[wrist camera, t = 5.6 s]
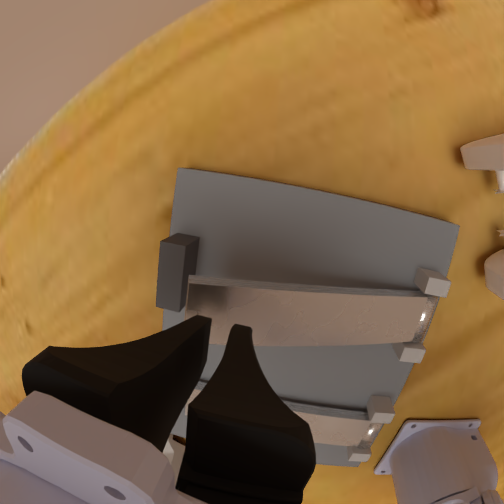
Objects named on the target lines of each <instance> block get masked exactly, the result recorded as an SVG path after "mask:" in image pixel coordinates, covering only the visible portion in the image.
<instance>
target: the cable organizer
mask: <svg viewBox="0 0 504 504" xmlns="http://www.w3.org/2000/svg"><path fill="white" fill-rule="evenodd" d="M460 151H461V154H462V158H463V162H464V165H465V168H466V169H469V170H495V173H496V177H497V182H498V187H499V189H497V190H494V191H497V192H496V193H504V134H500V135H495V136H491V137H487V138H483V139H479V140H476V141H473V142H470V143H467V144H465V145H463V146H462V147H461V148H460ZM496 193H495V194H496ZM496 231H498V232H500V233H501V234H500V235H499V236H504V230H496ZM484 270H485V282H486V287H487V288H488V289H489V290H490V291H492V292H493V293H495V294H496V295H497V296H499V297H500V298H501V299H503V300H504V249H502V250H500V251H498V252H496V253H494V254H492V255H491V256H490V257H488V258H487V259H486V261H485V263H484Z"/></svg>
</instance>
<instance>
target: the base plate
mask: <svg viewBox="0 0 504 504" xmlns="http://www.w3.org/2000/svg"><path fill="white" fill-rule="evenodd" d="M459 227H460V226H459V225H456V224H454V223H451V222H448V221H445V220H441V219H438V218H434V217H431V216H427V215H423V214H419V213H416V212H412V211H408V210H404V209H400V208H396V207H392V206H388V205H384V204H380V203H376V202H372V201H367V200H363V199H359V198H354V197H350V196H345V195H340V194H336V193H331V192H326V191H322V190H317V189H312V188H307V187H302V186H296V185H291V184H286V183H280V182H275V181H269V180H263V179H258V178H252V177H246V176H239V175H233V174H227V173H220V172H213V171H206V170H199V169H192V168H178V171H177V178H176V186H175V193H174V201H173V209H172V218H171V227H170V236H169V237H168V238H166V239H164V240H162V241H160V253H159V265H158V279H157V295H156V307H159V308H163V309H164V311H163V330H166V329H168V328H170V327H172V326H175V325H177V324H179V323H181V322H183V321H184V319H185V307H186V297H187V286H188V277H189V275H196V276H207V277H218V278H229V279H241V280H253V281H266V282H279V283H292V284H306V285H320V286H335V287H351V288H368V289H387V290H406V291H419V290H421V291H422V292H423V293H424V294H429V295H435V296H438V300H437V303H436V305H435V308H434V311H433V314H432V317H431V319H430V322H429V325H428V327H427V330H426V332H425V335H424V338H423V340H422V342H419V343H416V342H399V343H385V344H367V345H344V346H254V349H255V353H256V356H257V359H258V362H259V364H260V367H261V369H262V371H263V373H264V375H265V377H266V379H267V381H268V383H269V384H270V386H271V387H272V389H273V390H274V392H275V393H276V394H277V395H278V397H279V398H280V399H281V400H284V401H289V402H295V403H301V404H307V405H314V406H320V407H327V408H335V409H343V410H351V411H361V412H368V415H369V420H370V422H371V423H383V424H382V426H383V425H384V423H387V424H390V423H391V421H392V419H393V417H394V415H395V411H394V408H393V406H394V404H395V402H396V400H397V398H398V396H399V394H400V392H401V390H402V388H403V386H404V384H405V382H406V380H407V378H408V376H409V373H410V371H411V369H412V367H413V365H414V363H421V361H422V359H423V356H424V354H425V352H426V349H425V348H424V346H423V344H422V343H423V341H424V339H425V336H426V333H427V331H428V328H429V326H430V323H431V320H432V318H433V315H434V312H435V309H436V307H437V304H438V301H439V298H440V297H445V298H446V297H447V294H448V291H449V288H450V284H451V281H450V280H448V279H447V278H446V276H447V273H448V269H449V266H450V262H451V259H452V255H453V251H454V248H455V244H456V240H457V236H458V232H459ZM225 347H226V345H219V344H209V347H208V355H207V362H206V365H205V367H204V370H203V372H202V375H201V377H200V380H199V381H200V382H204V383H208V381H209V380H210V378H211V377H212V375H213V374H214V372H215V370H216V369H217V367H218V365H219V363H220V361H221V360H222V357H223V354H224V351H225ZM185 406H186V405H185ZM185 406H184V408H183V410H182V412H181V413H180V415H179V417H178V418H177V420H176V422H175V424H174V426H173V429H172V431H171V434H174V435H177V436H180V437H184V438H186V428H187V415H185ZM382 426H381V428H382ZM381 428H380V429H379V431H378V433H379V432H380V430H381ZM378 433H377V435H378ZM377 435H376V436H375V438H374V440H375V439H376V437H377ZM374 440H373V442H374ZM373 442H372V443H371V445H372V444H373ZM314 445H315V451H316V464H323V465H334V466H349V467H358V466H359V464H360V463H361V462H367V461H368V459H369V457H370V456H371V449H370V447H371V445H370V447H369V448H367V449H360V448H358V447H352V446H341V445H331V444H322V443H314Z"/></svg>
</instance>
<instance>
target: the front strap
mask: <svg viewBox="0 0 504 504" xmlns="http://www.w3.org/2000/svg"><path fill="white" fill-rule="evenodd" d="M437 300H438V296H435V295H429V294H424V293H423V292H422V291H421V290H419V291H406V290H387V289H368V288H351V287H335V286H320V285H306V284H292V283H279V282H266V281H253V280H241V279H229V278H218V277H207V276H196V275H189V277H188V286H187V297H186V307H185V319H184V321H185V320H187V319H189V318H191V317H193V316H195V315H200V316H205V317H209V318H212V323H211V331H210V339H209V344H219V345H226V344H227V340H228V336H229V333H230V329H231V328H232V326H233V325H234V324H240V325H244V326H249V327H251V328H252V330H253V332H252V340H253V345H254V346H344V345H367V344H385V343H399V342H416V343H419V342H422V340H423V338H424V335H425V332H426V330H427V327H428V325H429V322H430V319H431V317H432V314H433V311H434V308H435V305H436V303H437Z"/></svg>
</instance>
